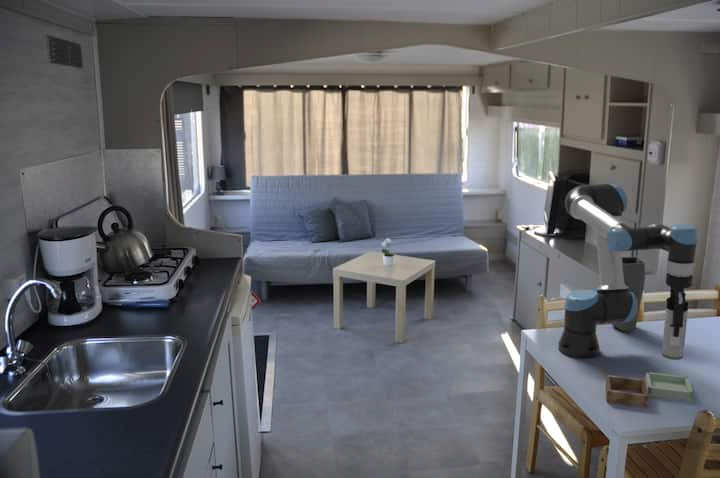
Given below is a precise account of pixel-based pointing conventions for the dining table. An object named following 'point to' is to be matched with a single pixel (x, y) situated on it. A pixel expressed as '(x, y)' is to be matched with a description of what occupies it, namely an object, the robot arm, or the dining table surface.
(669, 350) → the travel mug
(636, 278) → the vase
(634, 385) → the holder
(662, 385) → the tray
